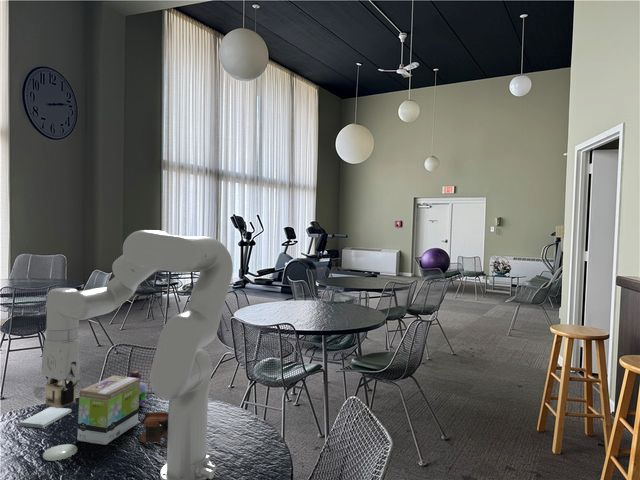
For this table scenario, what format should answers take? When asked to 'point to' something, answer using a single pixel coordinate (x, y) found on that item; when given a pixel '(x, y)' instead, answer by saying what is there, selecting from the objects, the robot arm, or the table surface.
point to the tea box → (108, 409)
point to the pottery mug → (154, 426)
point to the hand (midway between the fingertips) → (60, 400)
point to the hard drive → (45, 417)
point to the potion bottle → (142, 386)
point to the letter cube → (55, 395)
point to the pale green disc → (60, 452)
